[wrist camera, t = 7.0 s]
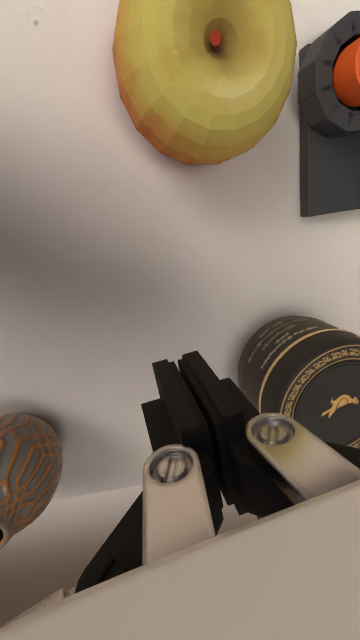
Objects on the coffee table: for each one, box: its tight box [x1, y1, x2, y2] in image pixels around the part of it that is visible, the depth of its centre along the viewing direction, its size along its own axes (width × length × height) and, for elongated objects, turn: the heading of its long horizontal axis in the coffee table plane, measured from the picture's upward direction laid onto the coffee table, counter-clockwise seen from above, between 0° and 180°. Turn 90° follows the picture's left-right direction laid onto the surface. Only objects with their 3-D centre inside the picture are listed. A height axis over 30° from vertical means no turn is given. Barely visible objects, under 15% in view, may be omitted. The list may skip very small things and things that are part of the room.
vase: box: [0, 414, 62, 549], centre depth 22 cm, size 7×7×9 cm
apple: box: [113, 0, 297, 164], centre depth 18 cm, size 10×10×8 cm
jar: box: [238, 316, 360, 449], centre depth 26 cm, size 10×10×8 cm
